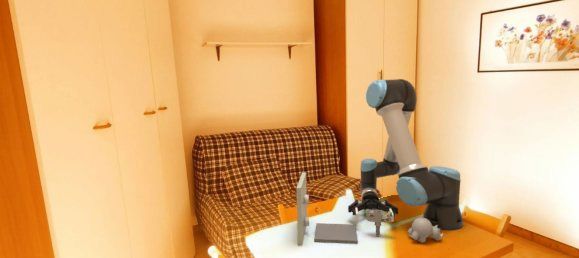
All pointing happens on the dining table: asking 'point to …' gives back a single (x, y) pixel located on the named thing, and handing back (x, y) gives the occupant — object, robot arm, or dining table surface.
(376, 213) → the mechanical component
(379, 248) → the dining table surface
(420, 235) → the chubby cartoon animal
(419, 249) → the dining table surface
